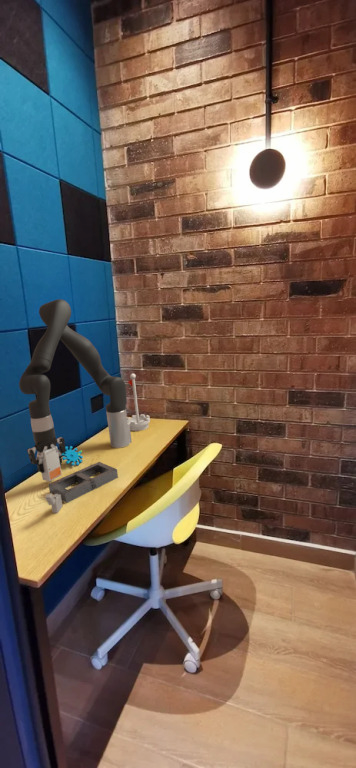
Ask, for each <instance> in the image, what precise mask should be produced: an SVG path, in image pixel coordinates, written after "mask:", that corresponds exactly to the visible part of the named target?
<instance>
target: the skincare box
mask: <svg viewBox="0 0 356 768" xmlns="http://www.w3.org/2000/svg"><path fill="white" fill-rule="evenodd" d="M55 447H56V448H57V449H58V446H57V445H56V446H55ZM36 451H37V450H36ZM37 453H38V454H39V455H41V453H40V452H38V451H37ZM43 456H44V458H43V460H42V464H43V468H44V473H41V477H42V481H45V482H49V483H51V482H53V481H54V480H55V479H57V478H59V477H61V476H62V475H63V474H62V468H61V465H60V461H59V455H58V452H57V453H56V450H55V448H53V449H52V448H51V449H48V450H46V451H44V452H43Z"/></svg>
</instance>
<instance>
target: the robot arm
mask: <svg viewBox="0 0 356 768" xmlns="http://www.w3.org/2000/svg"><path fill="white" fill-rule="evenodd" d="M38 313H39V317H40V319H41V320H42V322H43V324H45V326H46V327H47V329H46V331H45V333H44V334H43V335H42V337H41V338H40V339H39V341H38V342H37V344H36V347H35V348H34V351H33V354H32V357H31V359H30V360H31V361H30V362H29V364H28V365H27V367H26V368H25V370H24V372H23V373H22V375H21V376H20V379H19V382H18V384H19V385H18V386H19V390H20V391H21V393H23V394H25V395H36V399H33V400H31V401H29V403H28V412H29V417H30V424H31V425H30V426H31V430H32V436H33V440H34V441H33V442H34V443H35V444H34V447H32V448H27V449H26V451H27V454H28V458H29V461H30V464H33V465H35V466H37V471H38V472H40V474H42V473H44V468H43V464H42V460H43V458H44V456H43V452H44V451H46V450H48V449H51V448H52V449H53V448H55V450H56V453H57V452H58V455H59V461H60V466H62V463H63V460H62V458H63V456H61V455H62V454H63V453H64V454H65V451H66V450H65V446H66V441H65V438H64V437H62V436H59V437H58V438H56V432H55V426H54V424H55V423H54V421H53V417H52V414H51V409H50V396H51V395H50V393H51V381H50V379H49V378H48V376H47V375H46V374H45V375H44V373H46V372H48V371H50V369H51V366H52V363H53V360H54V356H55V353H56V350H57V346H58V345H59V342H60V341H61V342H62V343H63V345H65V347H66V348H67V349H68V350H69V351H70V353H71V354H72V355H73V357H74V358H75V359H76V360H77V361H78V362H79V364H80V365H81V366H82V367H83V369H84V370H85V371H86V372H87V373H88V375H89V376H90V377H91V378H92V379H93V381H94V383H95V384H96V386H97V387H98V389H99V390H100V392H101V393H102V394H104V396H109V399H110V400H109V403H107V404H106V406H105V411H106V420H107V427H108V428H107V429H108V433H109V441H110V442H109V443H110V447H112V448H117V449H118V448H123V447H126V446H129V445H130V444H131V443H132V433H131V432H132V431H131V430H130V424H129V423H128V421H127V418H128V415H127V402H128V397H127V396H128V395H127V388H126V387H127V386H126V381H124V379H123V378H122V377H119V376H112V375H110V374H109V372H108V371H106V369H105V368H104V366H103V364H102V360H101V355H100V354H99V353H100V352H98V350H97V348H96V347H95V345H93V343H92V341H90V340H89V339H88V338H86V337H85V336H84V335H82V334H80V333H78V332H77V331H74V330H73V329H72V328H70V327H69V326H68V323H69V322H70V319H71V316H72V309H71V305H70V303H68V301H66V300H64V299H60V298H59V299H58V298H57V299H55V300H52V301H49V302H46V303H43V304H42V305H41V306H40V307H39V309H38ZM57 444H58V447H59V449H58V447H57V448H56V447H55V446H57ZM36 451H38V452H40V453H41V455H39V454H38V452H37V453H36ZM35 453H36V455H35Z"/></svg>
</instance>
